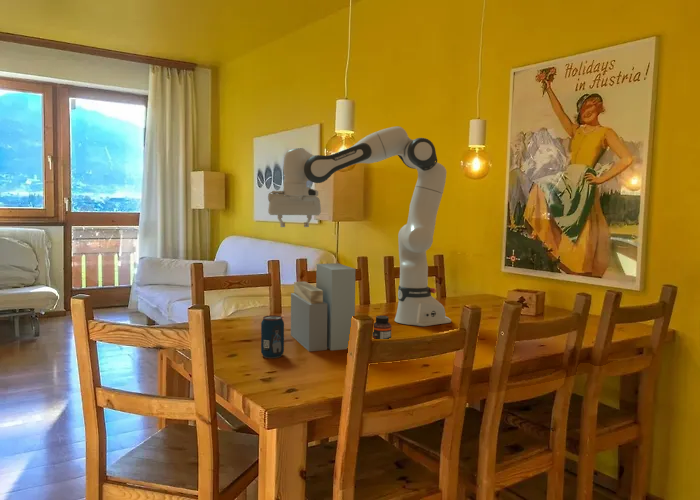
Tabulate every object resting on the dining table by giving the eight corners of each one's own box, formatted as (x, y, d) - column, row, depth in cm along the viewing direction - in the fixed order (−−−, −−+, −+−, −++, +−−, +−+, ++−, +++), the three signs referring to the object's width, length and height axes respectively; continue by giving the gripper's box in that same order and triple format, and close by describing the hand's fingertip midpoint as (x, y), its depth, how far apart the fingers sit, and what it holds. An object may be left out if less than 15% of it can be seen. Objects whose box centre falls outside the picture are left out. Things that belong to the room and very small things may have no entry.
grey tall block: (337, 336, 195) (338, 263, 193) (354, 348, 180) (355, 268, 178) (315, 338, 192) (316, 263, 190) (330, 350, 178) (332, 269, 175)
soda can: (269, 351, 175) (269, 314, 174) (288, 354, 172) (288, 316, 171) (256, 356, 169) (256, 318, 168) (275, 360, 166) (275, 320, 165)
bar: (305, 292, 196) (305, 281, 196) (322, 303, 178) (323, 290, 177) (294, 293, 195) (294, 282, 195) (310, 303, 176) (311, 291, 176)
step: (307, 333, 199) (307, 292, 197) (326, 349, 178) (327, 303, 177) (290, 335, 196) (291, 293, 195) (309, 351, 176) (309, 304, 175)
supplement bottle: (369, 349, 179) (369, 315, 178) (385, 348, 181) (386, 314, 180) (377, 354, 174) (377, 319, 172) (394, 353, 176) (394, 317, 175)
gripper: (270, 190, 207) (270, 227, 208) (322, 191, 214) (321, 227, 216) (266, 190, 213) (266, 226, 214) (317, 191, 220) (316, 226, 221)
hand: (294, 227), depth 215 cm, fingers open, 8 cm apart
